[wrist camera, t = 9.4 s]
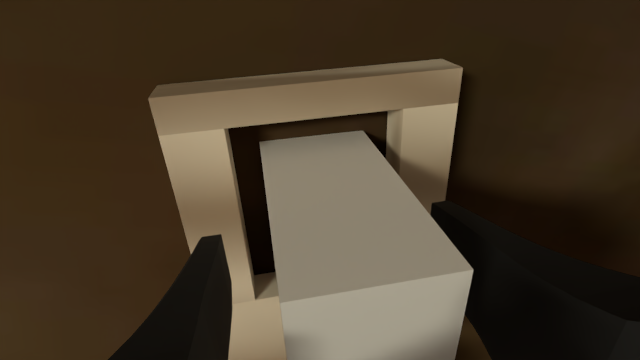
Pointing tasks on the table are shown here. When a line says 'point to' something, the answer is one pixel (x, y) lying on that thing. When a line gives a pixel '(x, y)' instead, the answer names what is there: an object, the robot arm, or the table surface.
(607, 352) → the robot arm
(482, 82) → the table surface
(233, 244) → the beige piece
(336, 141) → the off-white rectangular block
